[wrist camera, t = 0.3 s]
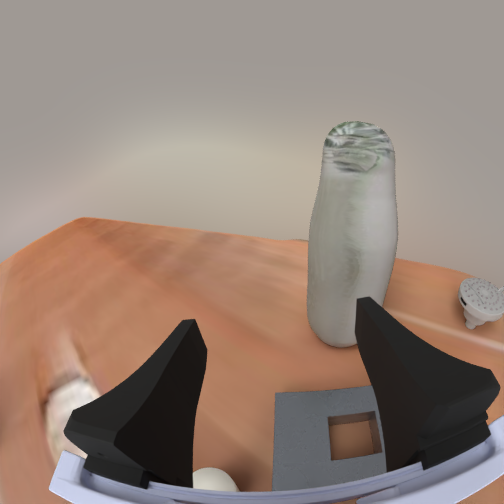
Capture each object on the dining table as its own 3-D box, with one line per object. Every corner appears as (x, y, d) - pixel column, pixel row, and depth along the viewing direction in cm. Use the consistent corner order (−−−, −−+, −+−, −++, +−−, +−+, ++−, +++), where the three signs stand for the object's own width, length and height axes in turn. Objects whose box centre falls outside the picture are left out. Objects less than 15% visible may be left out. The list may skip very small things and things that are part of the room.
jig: (424, 473, 16) (444, 460, 14) (271, 497, 18) (271, 491, 16) (403, 389, 27) (416, 368, 24) (275, 403, 28) (275, 383, 26)
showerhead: (520, 304, 25) (481, 313, 26) (501, 338, 28) (461, 350, 29) (491, 270, 33) (452, 274, 34) (478, 303, 36) (439, 310, 37)
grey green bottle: (301, 312, 42) (302, 117, 28) (364, 309, 41) (386, 122, 27) (305, 362, 33) (316, 122, 19) (379, 356, 32) (427, 132, 18)
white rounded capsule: (238, 513, 16) (231, 509, 14) (197, 508, 17) (183, 502, 14) (242, 480, 20) (236, 469, 17) (202, 476, 20) (190, 464, 18)
